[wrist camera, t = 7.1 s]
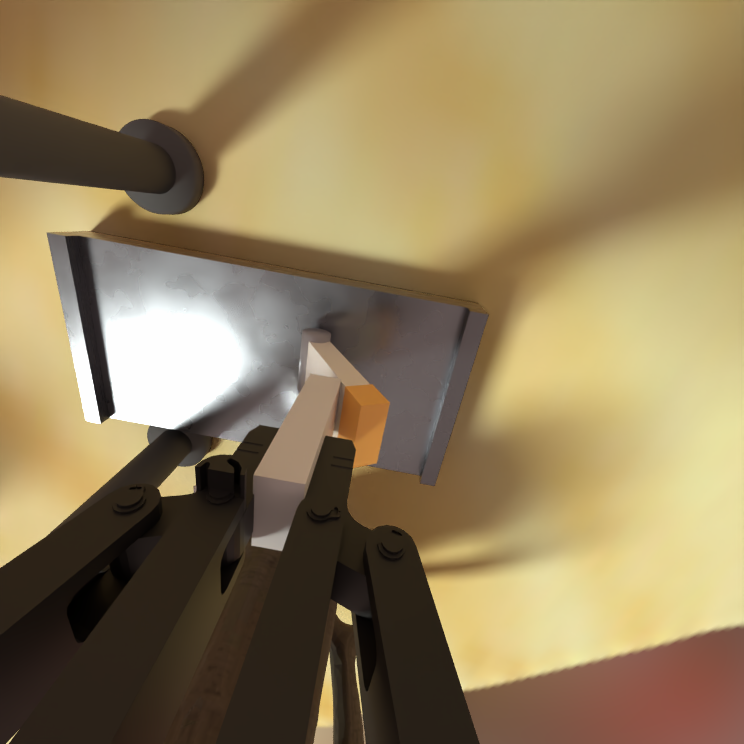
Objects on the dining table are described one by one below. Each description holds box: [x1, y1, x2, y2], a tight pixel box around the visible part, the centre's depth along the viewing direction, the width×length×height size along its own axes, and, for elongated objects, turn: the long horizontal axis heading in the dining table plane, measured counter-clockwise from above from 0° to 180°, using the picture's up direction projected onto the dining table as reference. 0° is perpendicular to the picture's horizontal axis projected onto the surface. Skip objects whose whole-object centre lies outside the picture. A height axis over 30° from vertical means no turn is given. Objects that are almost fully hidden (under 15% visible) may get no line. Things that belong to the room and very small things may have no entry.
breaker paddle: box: [297, 328, 390, 468], centre depth 17 cm, size 2×4×8 cm
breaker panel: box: [47, 231, 489, 486], centre depth 22 cm, size 24×12×3 cm, turn 80°
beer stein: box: [163, 535, 364, 744], centre depth 22 cm, size 15×11×20 cm
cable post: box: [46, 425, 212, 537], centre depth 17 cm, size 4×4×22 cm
